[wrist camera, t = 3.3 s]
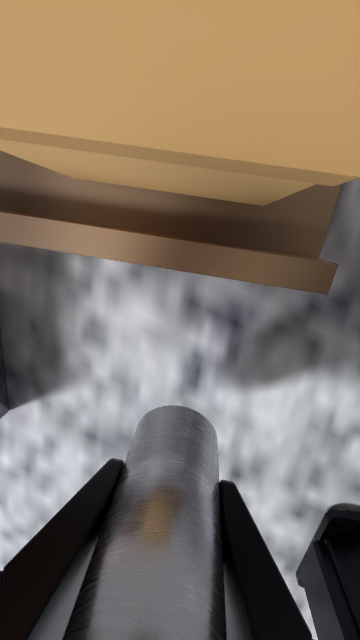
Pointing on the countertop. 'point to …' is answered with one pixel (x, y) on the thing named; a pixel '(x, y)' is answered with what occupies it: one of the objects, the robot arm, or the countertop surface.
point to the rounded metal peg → (159, 540)
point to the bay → (170, 227)
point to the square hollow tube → (2, 386)
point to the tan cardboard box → (185, 93)
